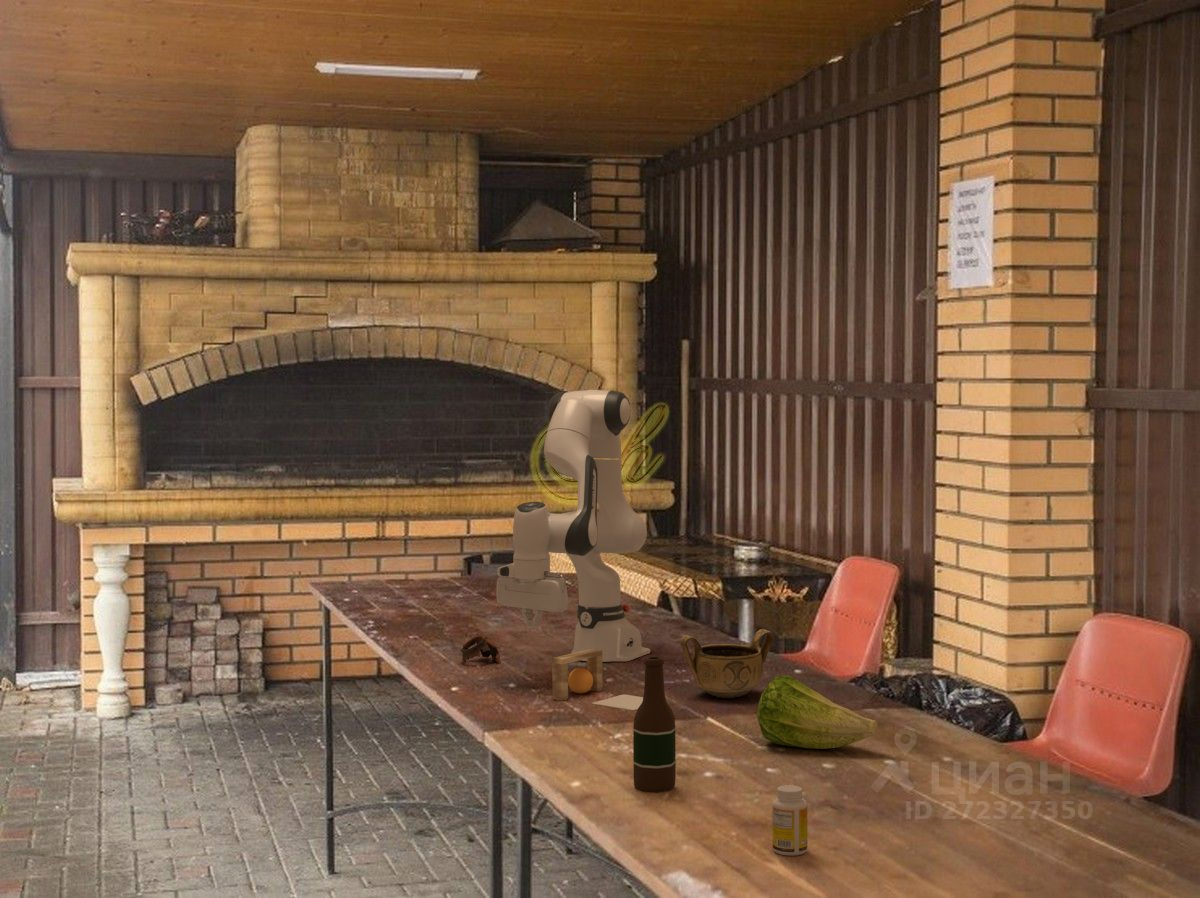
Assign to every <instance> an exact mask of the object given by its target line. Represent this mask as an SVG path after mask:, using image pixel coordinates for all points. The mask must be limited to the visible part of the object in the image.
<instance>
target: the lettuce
mask: <svg viewBox="0 0 1200 898" xmlns="http://www.w3.org/2000/svg"><path fill="white" fill-rule="evenodd" d="M756 711H757V713H756V716H757V721H758V725H759V728H760V732H761V734H762V737H763V738H764V739H766V740H768V741H770V742H772V743H774V744H776V745H780V746H785V745H786V746H787V747H794V746H795V747H794V748H797V747H798V748H804V749H815V750H816V749H817V750H818V749H819V750H820V749H821V750H826V749H836V748H837V749H838V748H840V747H845V746H849V745H851V744H854V743H857V742H859V741H860V742H861V741H862V740H864V739H867V738H870V737H871V736H874V735H875V734H876V733H877V730H878V722H877V720H875V719H871V718H867V717H863V716H861V715H860V714H858V713H856V712H854V711H853V710H851V709H849V708H846V707H844V706H842V705H839V704H837V703H835V702H833V701H831V700H830V699H828V698H827V697H825V696H823V695H822V694H820V693H819V692H817V691H815V690H813V689H812V688H810V687H809V686H807V685H805V684H804V683H803V682H801V681H799V680H798V679H796V678H794V677H793V676H791V675H790V674H789V675H788V674H787V675H775V677H774V678H773V679H772V680H771V681H770V682H769V683H768V685H767V686H766V687H765V688H764V690H763V692H762V693H761V694H760V698H759V701H758V706H757V710H756Z"/></svg>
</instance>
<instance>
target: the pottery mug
mask: <svg viewBox="0 0 1200 898" xmlns="http://www.w3.org/2000/svg"><path fill="white" fill-rule="evenodd" d="M460 652H461V653H462V656H461V658H462V661H463V664H466V663H467V660H470V659H473V658H475V657H478V658H481V656H482V658H490V657H491V660H492V661H494V660H495V661H496V663H497V665H500V664H501V662H502V661H501V658H500V657H501V655H500V654H499V649H498V647H497V645H495V643H494V642H493V640H491V639H489V638H488V637H487V636H485V635H483V634H481V635H476V636H474V637H472V638H470V639H469V640H467V642H465V643H464V644H463V645H462V648H461V649H460ZM465 662H466V663H465Z"/></svg>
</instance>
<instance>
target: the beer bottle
mask: <svg viewBox="0 0 1200 898" xmlns="http://www.w3.org/2000/svg"><path fill="white" fill-rule="evenodd" d="M664 660H665V659H664V658H662V657H661V656H647V657H646V658H645V659H644V661H643V664H644V665H645V670H644V671H645V672H644V686H643V687H644V688H643V696H642V697H643V702H642V703H641V705H640V706H639V708H638V709H637V710H636V712H635V715H634V718H633V726H632V728H633V729H632V731H633V733H632V734H633V736H632V737H633V738H632V739H633V743H632V744H633V757H632V758H633V759H632V760H633V764H632V765H633V786H634V788H635V789H637V790H638V791H641V792H644V793H645V792H648V793H661V792H662V793H663V792H669V791H672V789H673V788H674V787H675V786H676V771H677V770H676V762H677V761H676V758H677V757H676V755H677V754H676V719H675V716H674V712H673V710H672V708H671V707H670V705H669V703H668V702H667V699H666V694H665V693H666V692H665V679H664V664H665V661H664Z"/></svg>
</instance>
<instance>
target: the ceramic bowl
mask: <svg viewBox="0 0 1200 898" xmlns="http://www.w3.org/2000/svg"><path fill="white" fill-rule="evenodd" d="M764 637H765V639H764V641H763V643H762V646H761V645H760V644H761V641H762V639H763V638H764ZM689 640H690V641H691V643H693V646H694V650H693V654H692V655H691V652H690V650H689V647H688V645H687V644H688V642H689ZM679 642H680V648H681V650H682V652H683V654H684V658H685V659H686V662H687V664H688V666H689V669H690V670H691V672H692V675H693V677H694V680H695V682H696V684H697V685H698V686H699V688H700V689H702V690H703V691H705V693H708V694H709V695H711V696H713V697H715V696H716V698H719V697H722V698H721V699H735V697H737V698H740V697H742V696H745V695H746V694H748V693H749V692H751V691H753V690H754V688H756V686H757V685H759V683H760V681H761V679H762V675H763V670H764V663H765V660H766V658H767V656H768V654H769V652H770V649H771V647H772V645H773V642H774V634H773V632H772V631H769V630H768V629H765V628H762V629H759V630H758V631H756V633H755V634H754V635H753V637H752V640H751V643H750V645H746V644H734V643H733V644H730V643H716V644H714V643H713V644H705V645H701V644H700V642H699V641H698V640H697V638H695V637H694V636H691V635H687V634H686V635H683V636H682V637H681V639H680V641H679Z"/></svg>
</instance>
